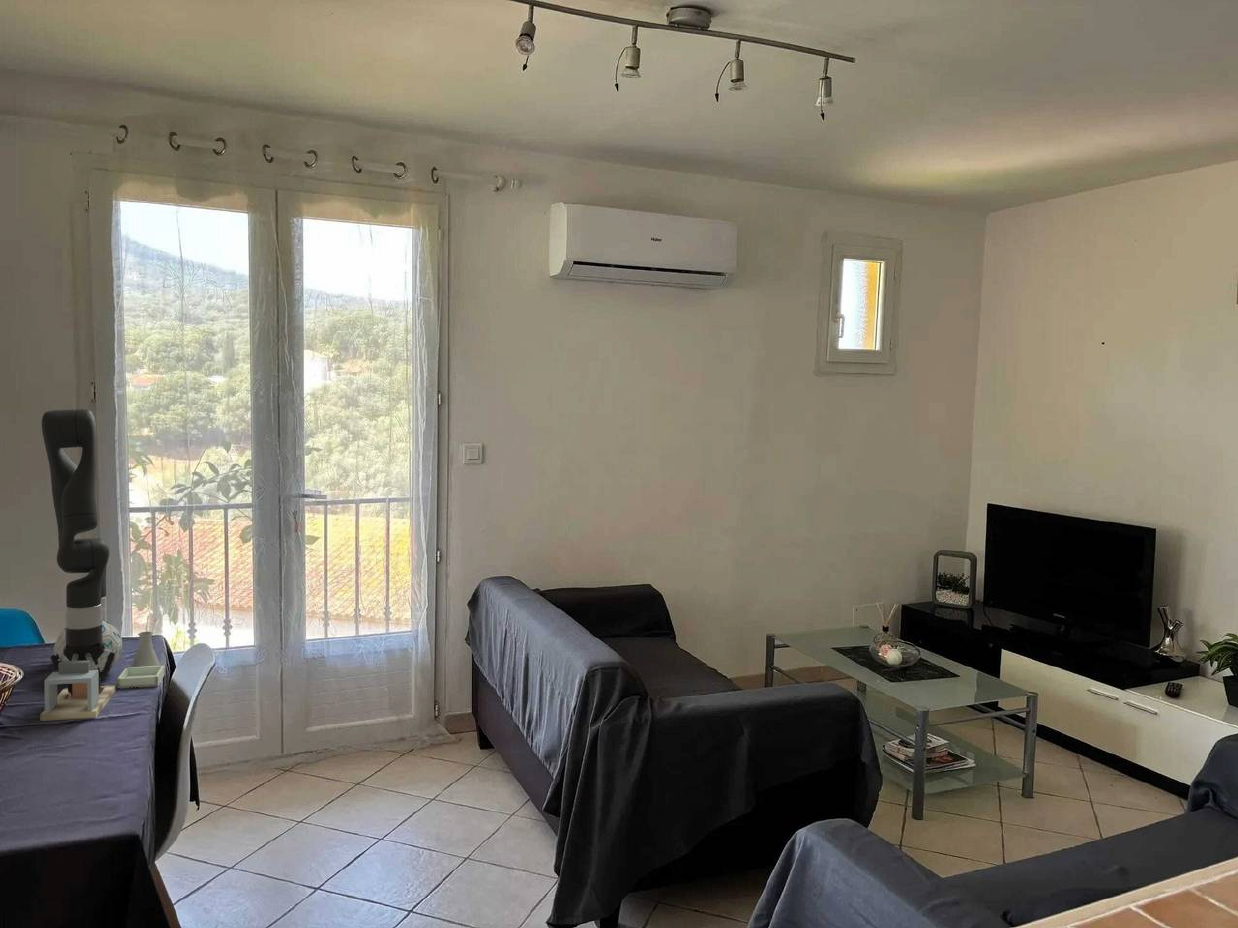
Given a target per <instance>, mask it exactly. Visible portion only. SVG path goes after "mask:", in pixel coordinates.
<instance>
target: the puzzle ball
mask: <svg viewBox="0 0 1238 928" xmlns="http://www.w3.org/2000/svg"><path fill="white" fill-rule="evenodd" d="M102 640H103V646H104V647H105V649H107V650H111V651H112V650H116V651H117V654H116V656H115V659H114V662H113V664H112V667H111V668H113V667H114V666H115V665H116V664H117V663H118V661H119V659H120V657H121V654H122V652H123V639H122V637H121V634H120V632H119V630H118V629H117V628H116V627H115V626H113V624H111V623H109V622H108V621H107V622H106V621H103V622H102ZM65 647H66V634H65V628H64V629H63V631H61V632H60V633H59V635H58V636H57V638H56V641H55V644H54V646H53V654H54V653H55V652H62V651H64V649H65ZM62 661H63V662H64V661H69V660H68V659H67V658H66V656H65V655H64V659H63V660H62ZM98 661H99V664H100V669H101V670H103V669H104V666H105V664H106V661H107V659H105V655H104V654H102V655H101V656H100V658H99V659H98Z"/></svg>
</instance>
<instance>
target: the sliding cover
mask: <svg viewBox="0 0 1238 928" xmlns="http://www.w3.org/2000/svg"><path fill="white" fill-rule="evenodd" d="M58 669H59V672H56V671H53V672H51V673H50V675H48V676H47V678H45V680H44V681H43V682H44V710H45V713H49V712H50V711H51V710H52V709H53V708H54V707H55V706H56V704H57V696H58V685H65V684H66V685H68V684H71V683H87V701H88V711H89V710H92V709H93V708H94V706H95V705H96V704H97V703H98V701H99V695H100V694H99V680H98V670H90V660H85V661H64V662H60V663H59V664H58Z"/></svg>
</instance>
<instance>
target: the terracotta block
mask: <svg viewBox="0 0 1238 928" xmlns="http://www.w3.org/2000/svg"><path fill="white" fill-rule="evenodd" d="M72 692H73V695H72V699H77V698H87V683H72Z"/></svg>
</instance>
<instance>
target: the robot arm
mask: <svg viewBox="0 0 1238 928" xmlns="http://www.w3.org/2000/svg"><path fill="white" fill-rule="evenodd" d="M41 432H42V437H43V442H44V447H45V451H46V455H47V461H48V465H49V470H50V471H49V473H50V474H49V475H50V482H51V494H52V495H51V496H52V502H53V509H54V511H55V512H54V513H55V519H56V524H57V537H58V539H57V540H58V549H57V554H56V563H57V565H58V567H59V568H60V569H61V570H62V571H63V572H64V573H67V574H85V573H86V574H87V573H88V574H87V575H86V576H84V577H81V578H78V579H74V580H72V581H70V582H68V583H67V584H66V588H65V589H66V590H65V593H66V594H65V595H66V596H65V597H66V602H65V603H66V604H65V605H66V607H65V609H66V610H65V616H64V617H65V618H64V619H65V620H64V621H65V622H64V623H65V625H64V626H65V628H64V629H65V634H66V647H65V649H64V651H62V652H55V653H54V652H53V653H52V655H51V656H50V660H51V662H52V665H53V667H54V669H55V672H59V669H58V664H59V663H60V662H63V661H62V660H63V659H64V655H65V656H66V658H67V659H68V660H69V661H85V660H90V670H98V680H99V690H100V688H101V686H102V677H107V676H108V675H109V673H110V671H111V669H112V668H113V667H112V664H113V662H114V659H115V656H116V654H117V651H116V650H112V651H111V650H107V649H105V647H104V646H103V640H102V622H103V621H106V622H108V621H107V613H108V612H107V610H108V609H107V565H108V562H109V557H110V548H109V546H108V544H107V542H106V541H105V539H104V538H101V537H99V538H98V537H96V538H95V537H94V538H93V537H92V538H75V537H76V536H77V535H79V534H82V533H86V532H90V531H93V530H95V529H96V528H97V527H98V521H99V520H98V512H97V511H98V510H97V501H96V500H97V499H96V475H97V474H96V473H97V451H98V450H97V448H98V447H97V442H98V441H97V440H98V439H97V437H98V436H97V433H98V432H97V423H96V418H95V415H94V414H93V412H92V410H90V409H83V408H81V409H79V408H78V409H58V410H57V409H56V410H55V409H54V410H47V411H46V412H44V413H43V415H42V417H41ZM69 448H81V451H82V452H81V457H80V460H79V463H78V465H77V464H76V463H75V462H74V461H72V460H71V458H69V456H68V455H67V453H66V452H65V450H64V449H69ZM102 654H104V655H105V659H107V661H106V664H105V666H104V669H103V670H101V669H100V664H99V661H98V659H99V658H100V656H101V655H102ZM67 688H68V692H69V693H71V695H72V696H73V692H72V683H71V684H67Z"/></svg>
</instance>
